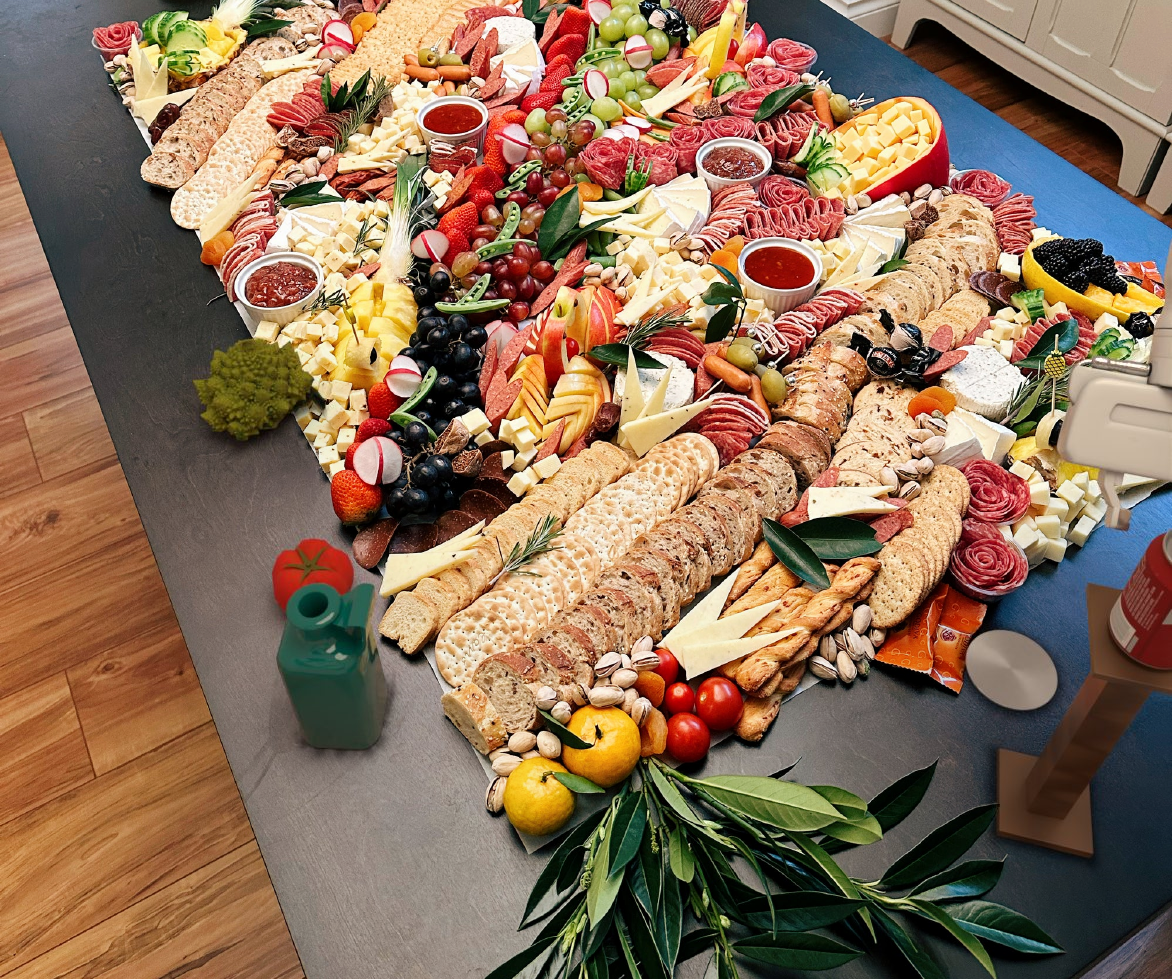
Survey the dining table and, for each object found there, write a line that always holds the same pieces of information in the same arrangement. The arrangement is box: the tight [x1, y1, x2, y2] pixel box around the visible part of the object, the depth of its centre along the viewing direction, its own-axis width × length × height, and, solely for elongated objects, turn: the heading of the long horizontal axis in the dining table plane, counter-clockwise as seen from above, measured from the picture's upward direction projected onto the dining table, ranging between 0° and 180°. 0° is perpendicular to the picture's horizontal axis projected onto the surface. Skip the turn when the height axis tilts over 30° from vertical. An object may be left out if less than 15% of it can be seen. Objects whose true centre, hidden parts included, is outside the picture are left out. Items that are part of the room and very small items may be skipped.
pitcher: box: [275, 582, 389, 750], centre depth 116 cm, size 10×8×22 cm
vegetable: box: [192, 337, 328, 442], centre depth 153 cm, size 15×16×15 cm
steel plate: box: [964, 629, 1059, 712], centre depth 127 cm, size 10×10×1 cm
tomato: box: [271, 537, 355, 614], centre depth 132 cm, size 9×9×8 cm
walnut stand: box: [996, 582, 1172, 859], centre depth 105 cm, size 9×9×32 cm
